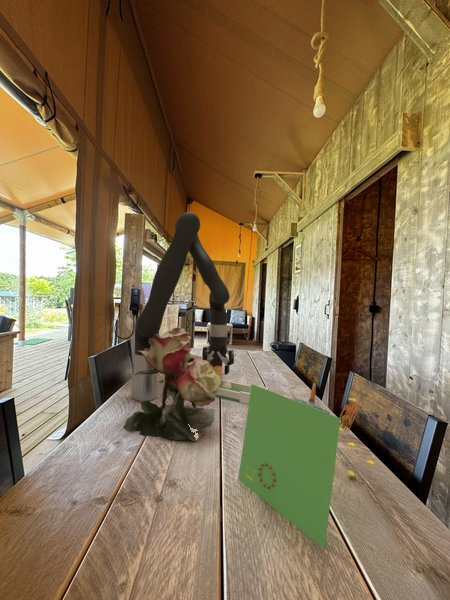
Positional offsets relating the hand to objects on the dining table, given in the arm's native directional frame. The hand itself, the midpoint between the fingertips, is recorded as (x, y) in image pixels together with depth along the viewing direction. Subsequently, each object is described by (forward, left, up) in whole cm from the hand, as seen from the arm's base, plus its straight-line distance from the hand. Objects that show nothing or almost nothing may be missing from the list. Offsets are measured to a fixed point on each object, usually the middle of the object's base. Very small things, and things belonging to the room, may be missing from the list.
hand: (217, 372), depth 120 cm
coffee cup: (+19, +12, -8) cm, 24 cm away
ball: (0, -5, -5) cm, 7 cm away
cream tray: (0, -9, -8) cm, 12 cm away
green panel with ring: (-41, -47, -8) cm, 63 cm away
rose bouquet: (-30, -3, -8) cm, 32 cm away
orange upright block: (0, 0, -7) cm, 7 cm away
